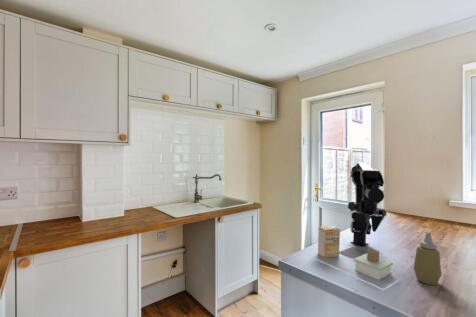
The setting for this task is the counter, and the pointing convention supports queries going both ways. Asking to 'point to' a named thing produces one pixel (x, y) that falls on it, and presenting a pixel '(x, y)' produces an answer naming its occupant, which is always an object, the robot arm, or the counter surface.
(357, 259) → the lid
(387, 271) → the white box
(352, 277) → the counter surface
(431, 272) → the squeeze bottle
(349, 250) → the mat
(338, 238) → the supplement box
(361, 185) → the robot arm
